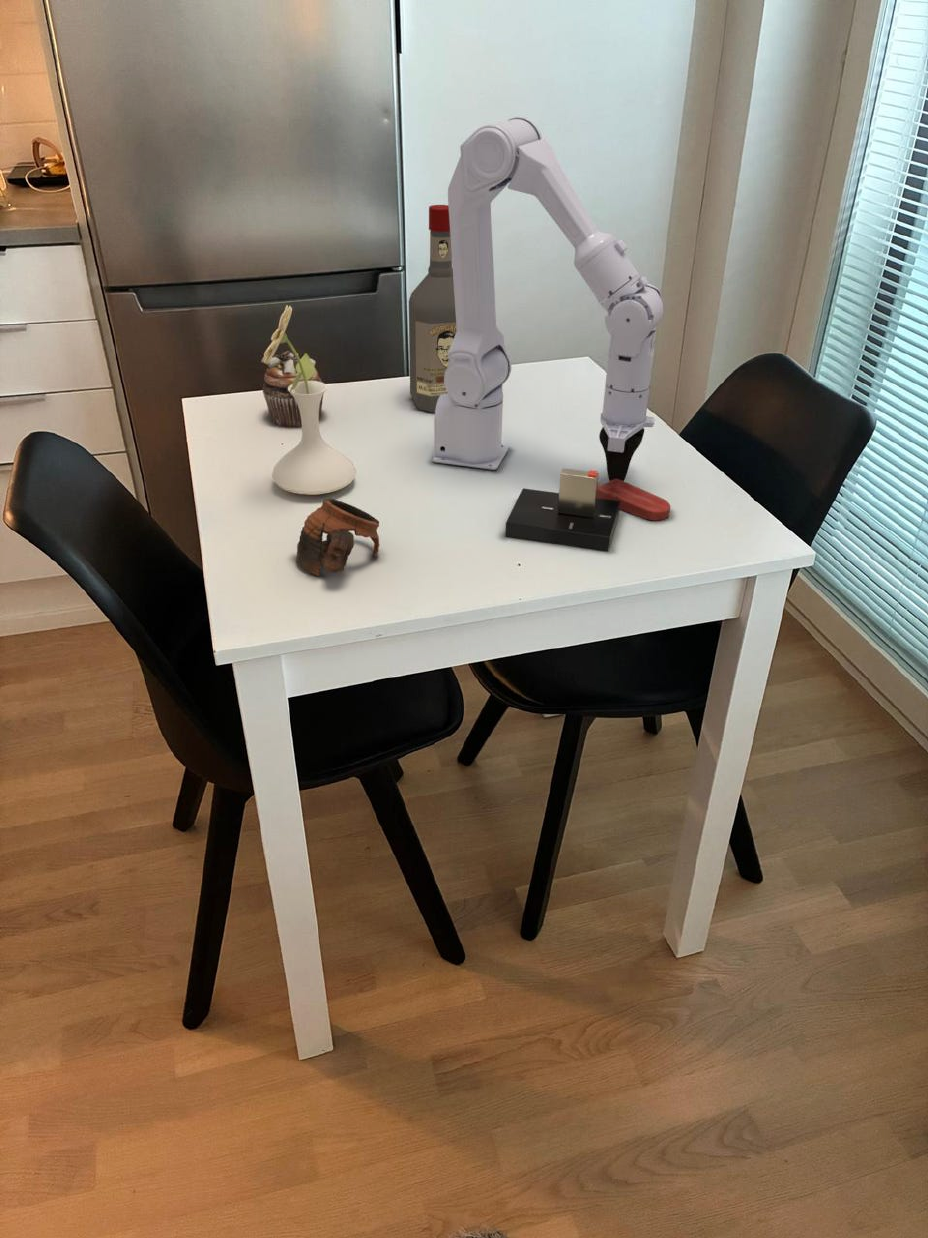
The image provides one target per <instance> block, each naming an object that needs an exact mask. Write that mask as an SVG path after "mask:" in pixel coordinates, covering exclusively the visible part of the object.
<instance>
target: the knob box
mask: <svg viewBox="0 0 928 1238" xmlns="http://www.w3.org/2000/svg"><path fill="white" fill-rule="evenodd" d="M558 497H559V492H553V491H545V490H539V489H531V488H524V487H523V488H522V489H521V491H520V494H519V496H518V497H517V499H516V501H515V503H514V505H513V507H512V509H511V511H510V514H509V515H508V518H507V520H506V521H505V531H504V533H505V535H504V536H505V537H508V538H515V539H521V540H528V541H529V540H530V541H534V542H535V541H536V542H543V543H550V544H557V545H563V546H568V547H569V546H570V547H577V548H583V549H591V550H598V551H605V552H609V550H610V547H611V543H612V539H613V535H614V533H615V530H616V526H617V524H618V523H617V522H618V519H619V515H620V510H621V509H620V501H614V500H607V499H599V498H596V508H595V514H594V517H593V518H591V517H584V516H576V515H569V514H562V513H557V510H558Z"/></svg>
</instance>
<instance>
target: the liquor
mask: <svg viewBox="0 0 928 1238" xmlns="http://www.w3.org/2000/svg"><path fill="white" fill-rule="evenodd" d="M428 230H429V231H430V232H429V233H430V234H429V242H430V243H429V244H430V245H429V247H430V248H429V266H428V268H427V270H428V271H427V274H426V276H425V277H424V278H423V279H422V280H421V281H420V282H419V284H418V285H416V287H415V289H413V291H411V293H410V296H409V298H408V331H409V332H408V335H409V336H408V343H409V344H408V345H409V347H408V348H409V351H408V353H409V393H410V396H411V398H412V400H413V401H414V403H415V405H416V407H417V409H418V410H420V411H423V412H427V413H431V414H432V413H433V414H435V409H436V404H437V401H438V399H439V397H440V395H442V394H448V393H447V391H446V388H445V385H444V375H445V372H446V369H447V367H448V362H449V357H448V352H449V349H450V346H451V344H452V342H453V339H454V337H455V335H456V332H457V326H456V311H455V296H454V281H453V266H452V251H451V236H450V221H449V206H448V204H432V205H429V206H428Z"/></svg>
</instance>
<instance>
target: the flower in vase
mask: <svg viewBox="0 0 928 1238" xmlns="http://www.w3.org/2000/svg"><path fill="white" fill-rule="evenodd" d="M292 312H293V306H291V305H289V306H288V304H286V306H285V307H284V311H283V313H282V314H281V315H280V318H279V322H278V328H277V329H275V331H274V332H273V333H272V335H271V337H270V340H271V341H272V342H271V343H270V344H269V346H268V347H267V348H266V350H265V351H264V353H263V357H262V359H261V363H263V364H265V365H268V363H269V361H270V360H271V358H272V357H273V355H275V353H276V352H277V350H278V348H279V346H280V344H285V343H286V344H287V345H288V347H289V348H290V350H292V352H293V353H294V355H295V357H296V359H297V361H298V363H297V365H296V371H297V373H298V375H297V376H296V377H295V379H294V381H293V384H291V385H290V386H289V387H288V391H289V392H290V393H291V394H292V395H293V397H294V398H295V400H296V402H297V404H298V407H299V410H300V415H301V421H302V427H301V439H300V441H299V442H298V444H297V445H296V446H295V447H293V448H292V449H290V450H289V451H288V452H287V453H285V455H283V456H282V457H281V458H280V459H279V460H278V461H277V462H276V464H275V465H274V467H273V470H272V473H271V478H272V480H273V482H274V483H275V484H276V485H277V487H279V488H281V489H282V490H284V491H286V492H289V493H293V494H299V495H312V496H313V495H323V494H329V493H333V492H337V491H340V490H342V489H344V488H345V487H347V486H349V485H350V484H351V483H352V482H353V480H354V479H355V477H356V475H357V469H356V466H355V464H354V462H353V461H352V460H351V459H350V458H349V457H348V456H347V455H346V454H344V453H343V452H341V451H340V450H338V449H336V448H335V447H333V446H331V445H330V444H329V443H326V441H325V440H324V439H323V438H322V435H321V431H320V420H319V406H320V401H321V398H322V396H323V397H324V394H325V392H326V391H327V389H328V386H327V384H326V383H324V382H322V383H321V382H317V381H307V380H309V379H310V378H311V377H313V376H314V375H315V373H316V370H317V369H316V367H315V366H314V365H313V363H312V362H311V360H310V359H311V357H310V358H309V357H308V355H309V354H308V353H307V352H306V353H304V354H305V355H304V356H303V357H302V358H301V359H299V357H298V355H299V354H298V352H297V351H296V349H295V348H294V346H293V344H292V343H291V341H290V340H289V339H288V335H287V333H286V330H287V328H288V325H289V322H290V320H291V316H292ZM297 354H298V355H297ZM300 378H302V379H304V381H301V382H299V380H300Z"/></svg>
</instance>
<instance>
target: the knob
mask: <svg viewBox="0 0 928 1238" xmlns="http://www.w3.org/2000/svg"><path fill="white" fill-rule="evenodd" d="M599 479H600V472H598V471H596V470H589V471H587V470H578V469H570V468H562V470H561V472H560V475H559V487H558V493H559V497H558V510H557V513H562V514H569V515H576V516H584V517H591V518H593V517H594V514H595V508H596V498H597V489H598V483H599Z"/></svg>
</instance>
